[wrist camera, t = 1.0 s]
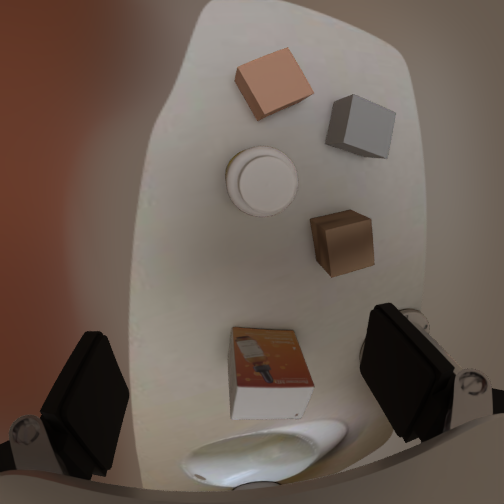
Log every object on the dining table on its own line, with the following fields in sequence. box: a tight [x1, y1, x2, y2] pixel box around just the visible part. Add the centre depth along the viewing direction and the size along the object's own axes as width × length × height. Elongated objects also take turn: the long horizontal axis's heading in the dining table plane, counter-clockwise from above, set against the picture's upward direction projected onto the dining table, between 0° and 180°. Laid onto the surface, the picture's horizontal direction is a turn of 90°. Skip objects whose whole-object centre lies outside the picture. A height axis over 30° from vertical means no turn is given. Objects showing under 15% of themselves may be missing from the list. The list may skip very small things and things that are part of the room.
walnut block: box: [310, 210, 374, 278], centre depth 30 cm, size 5×5×5 cm
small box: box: [228, 327, 315, 420], centre depth 31 cm, size 8×6×10 cm
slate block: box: [325, 94, 396, 159], centre depth 26 cm, size 5×5×5 cm
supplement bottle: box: [225, 146, 298, 217], centre depth 24 cm, size 6×6×10 cm
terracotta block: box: [235, 47, 314, 121], centre depth 24 cm, size 5×5×5 cm
